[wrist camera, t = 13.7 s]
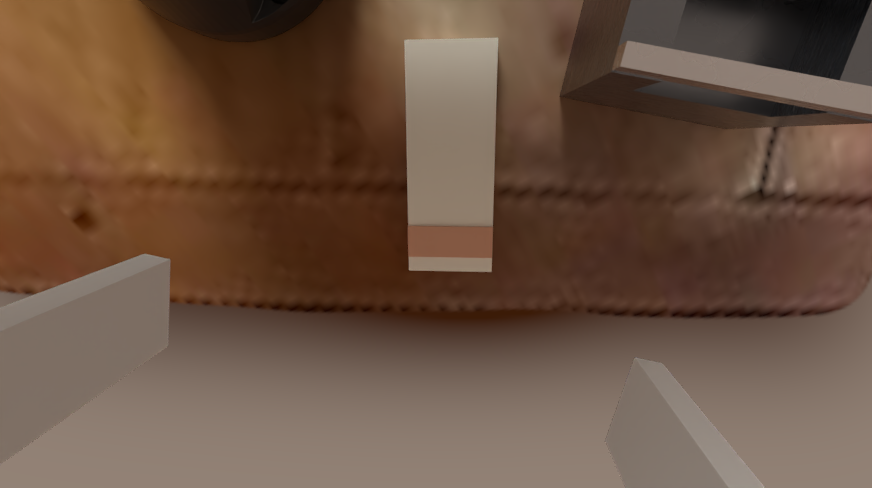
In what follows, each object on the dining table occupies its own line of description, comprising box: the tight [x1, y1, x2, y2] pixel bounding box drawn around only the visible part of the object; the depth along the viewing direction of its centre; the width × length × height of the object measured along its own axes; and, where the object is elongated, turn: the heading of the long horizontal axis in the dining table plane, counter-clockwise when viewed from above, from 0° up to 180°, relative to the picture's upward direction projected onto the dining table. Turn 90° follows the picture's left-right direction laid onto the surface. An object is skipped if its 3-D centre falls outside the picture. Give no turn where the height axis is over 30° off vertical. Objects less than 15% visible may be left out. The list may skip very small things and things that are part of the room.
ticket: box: [405, 38, 498, 272], centre depth 27 cm, size 5×14×3 cm, turn 0°
